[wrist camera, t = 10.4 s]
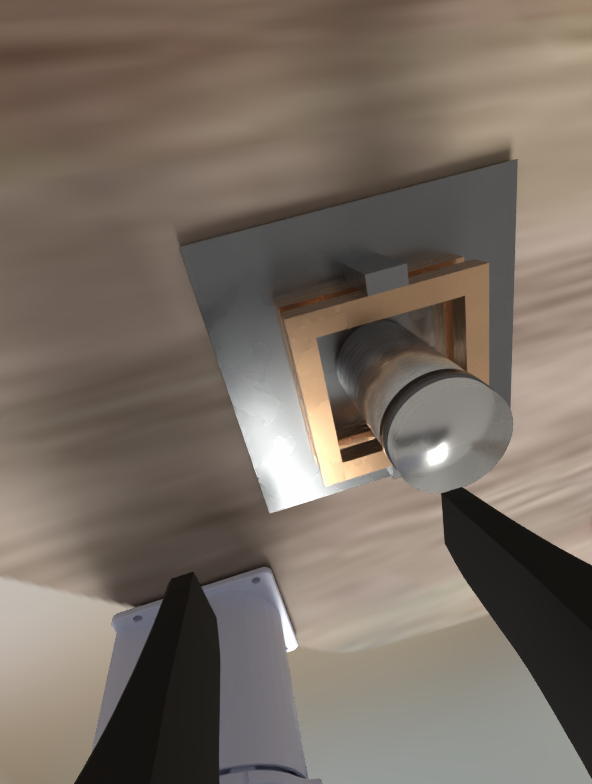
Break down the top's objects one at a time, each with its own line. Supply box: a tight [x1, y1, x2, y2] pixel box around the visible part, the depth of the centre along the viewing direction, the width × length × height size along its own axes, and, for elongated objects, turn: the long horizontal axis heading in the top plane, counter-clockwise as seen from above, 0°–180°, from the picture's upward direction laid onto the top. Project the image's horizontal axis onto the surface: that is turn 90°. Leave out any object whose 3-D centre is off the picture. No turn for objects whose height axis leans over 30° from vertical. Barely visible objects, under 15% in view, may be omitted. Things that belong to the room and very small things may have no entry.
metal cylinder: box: [336, 321, 513, 493], centre depth 16 cm, size 4×4×7 cm
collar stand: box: [179, 159, 518, 513], centre depth 18 cm, size 14×14×3 cm
